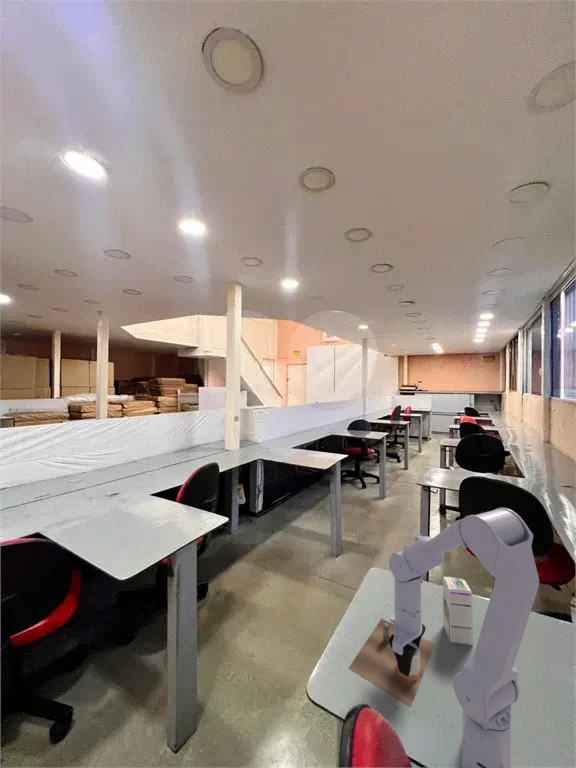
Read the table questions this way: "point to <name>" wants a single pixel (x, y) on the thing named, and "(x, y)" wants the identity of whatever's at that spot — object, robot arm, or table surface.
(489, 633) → the robot arm
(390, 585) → the table surface
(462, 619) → the syrup box
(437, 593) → the table surface
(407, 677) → the sleeve
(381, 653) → the pin board
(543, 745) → the table surface
